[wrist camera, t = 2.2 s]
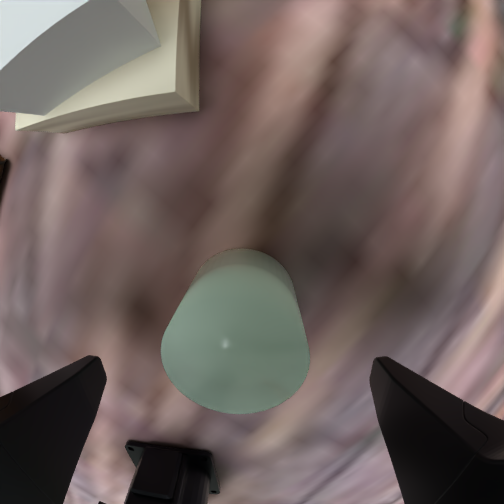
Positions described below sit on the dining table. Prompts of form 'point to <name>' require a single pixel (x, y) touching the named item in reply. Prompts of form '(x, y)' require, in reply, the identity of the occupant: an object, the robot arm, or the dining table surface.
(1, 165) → the sunglasses case
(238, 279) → the mint green cylinder
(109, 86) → the birch base block
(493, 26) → the dining table surface
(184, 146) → the dining table surface
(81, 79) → the grey top block
